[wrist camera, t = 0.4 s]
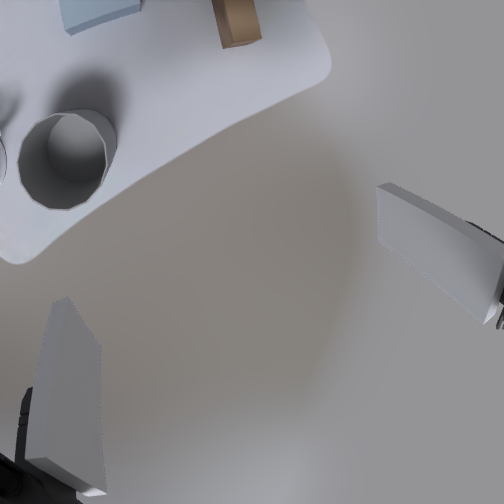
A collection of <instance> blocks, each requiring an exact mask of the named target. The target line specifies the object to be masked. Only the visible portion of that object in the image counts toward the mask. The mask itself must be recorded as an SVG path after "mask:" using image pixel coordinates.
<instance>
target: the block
mask: <svg viewBox="0 0 504 504" xmlns="http://www.w3.org/2000/svg"><path fill="white" fill-rule="evenodd" d="M59 2H60V8H61V14H62V19H63V24H64V29H65V31H66V32H67V33H68V34H70V35H71V36H72V35H74V34H76V33H79V32H81V31H84V30H86V29H89V28H91V27H94V26H97V25H99V24H102V23H105V22H108V21H111V20H113V19H116V18H119V17H123V16H126V15H129V14H132V13H136V12H139V11H140V0H59Z"/></svg>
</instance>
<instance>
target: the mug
mask: <svg viewBox="0 0 504 504" xmlns="http://www.w3.org/2000/svg"><path fill="white" fill-rule="evenodd" d="M1 134H2V131H1V129H0V137H1ZM5 172H6V154H5V150H4V147H3V145H2V143H1V141H0V186H1V184H2V182H3V179H4V176H5Z"/></svg>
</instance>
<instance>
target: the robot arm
mask: <svg viewBox="0 0 504 504" xmlns="http://www.w3.org/2000/svg"><path fill="white" fill-rule="evenodd" d="M377 208H378V241H379V242H380V243H381V244H383V245H384V246H385V247H387V248H388V249H389V250H391V251H392V252H393V253H395V254H396V255H397V256H399V257H400V258H402V259H403V260H404V261H405V262H407V263H408V264H409V265H411V266H412V267H414V268H415V269H416V270H417V271H419V272H420V273H421V274H422V275H424V276H425V277H426V278H428V279H429V280H430V281H431V282H433V283H434V284H435V285H436V286H438V287H439V288H440V289H441V290H442V291H444V292H445V293H446V294H448V295H449V296H450V297H451V298H452V299H454V300H455V301H456V302H457V303H458V304H460V305H461V306H462V307H463V308H465V309H466V310H467V311H468V312H469V313H470V314H471V315H473V316H474V317H475V318H476V319H477V320H479V321H480V322H481V323H482V324H484V323H486V322H487V321H488V320H489V319H490V318H491V317H492V316H494V315H495V312H496V309H497V306H498V304H499V302H500V303H502V304H503V305H504V241H502V240H500V239H498V238H497V237H495V236H494V235H491V234H490V233H489V232H487V231H485V230H484V231H483V229H482V228H480V227H479V226H477V225H475V224H473V223H471V222H467V221H464V220H462V219H461V218H459V217H457V216H455V215H453V214H452V213H450V212H448V211H446V210H444V209H442V208H440V207H439V206H437V205H435V204H433V203H431V202H429V201H427V200H425V199H423V198H421V197H419V196H417V195H415V194H413V193H411V192H409V191H407V190H405V189H403V188H401V187H399V186H397V185H395V184H393V183H390V182H389V183H386V184H383V185H380V186H377ZM502 321H504V307H503V310H502V312H501V315H500V317H499V320H498V322H497V325H496V329H499V328H500V325H501V323H502ZM502 329H504V325H503V328H502ZM100 374H101V345H100V344H99V342H98V341H97V340H96V338H95V337H94V335H93V334H92V332H91V331H90V329H89V328H88V326H87V325H86V323H85V322H84V320H83V319H82V318H81V316H80V315H79V313H78V311H77V310H76V308H75V307H74V305H73V303H72V302H71V300H70V299H69V297H66V298H64V299H61V300H59V301H56V302H53V304H52V307H51V311H50V314H49V318H48V322H47V326H46V330H45V333H44V337H43V342H42V346H41V351H40V355H39V360H38V364H37V369H36V375H35V380H34V386H33V387H31V388H28V389H27V392H26V394H25V396H24V398H23V400H22V404H21V410H20V415H21V417H19V424H18V425H19V427H18V432H17V441H16V451H15V463H14V462H13V461H11V460H10V459H8V458H7V457H5V456H4V455H3V454H1V453H0V504H83V503H82V502H80V501H79V500H77V499H76V491H78V492H80V493H82V494H84V495H85V496H95V495H105V494H107V486H106V478H105V468H104V457H103V445H102V428H101V391H100V390H101V388H100V385H101V381H100V380H101V378H100V377H101V375H100Z"/></svg>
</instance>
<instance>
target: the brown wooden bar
mask: <svg viewBox="0 0 504 504" xmlns="http://www.w3.org/2000/svg"><path fill="white" fill-rule="evenodd" d="M212 4H213V8H214V12H215V17H216V21H217V25H218V30H219V34H220V38H221V43H222V47H223V49H225V48H231V47H236V46H243V45H248V44H251V43H253V42H255V41H257V40H260V39H262V37H261V33H260V28H259V24H258V19H257V15H256V11H255V7H254V2H253V0H212Z"/></svg>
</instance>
